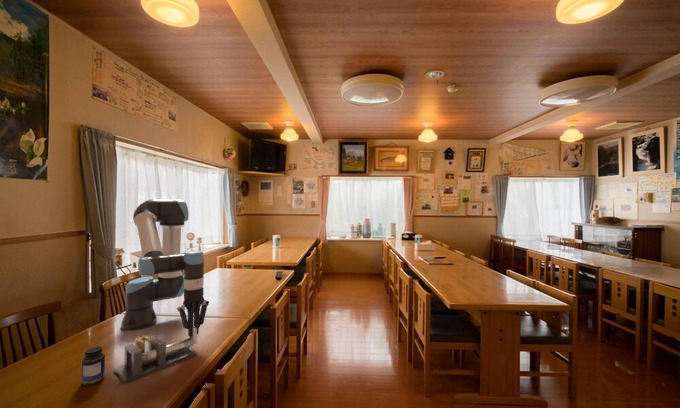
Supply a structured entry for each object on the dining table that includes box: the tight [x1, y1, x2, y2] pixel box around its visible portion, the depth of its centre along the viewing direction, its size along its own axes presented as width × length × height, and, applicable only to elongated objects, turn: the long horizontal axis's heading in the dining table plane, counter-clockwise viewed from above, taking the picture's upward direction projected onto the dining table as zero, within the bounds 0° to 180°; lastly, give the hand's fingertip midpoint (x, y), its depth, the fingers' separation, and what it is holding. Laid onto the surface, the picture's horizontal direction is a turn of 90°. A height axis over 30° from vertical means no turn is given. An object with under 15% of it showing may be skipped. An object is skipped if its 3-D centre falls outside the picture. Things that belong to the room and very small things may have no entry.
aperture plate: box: [134, 335, 151, 354], centre depth 112 cm, size 7×3×9 cm, turn 53°
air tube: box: [142, 336, 195, 365], centre depth 116 cm, size 20×4×4 cm, turn 143°
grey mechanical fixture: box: [113, 335, 196, 385], centre depth 114 cm, size 12×24×9 cm, turn 143°
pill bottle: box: [81, 345, 106, 386], centre depth 102 cm, size 6×6×11 cm
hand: (193, 343), depth 125 cm, fingers closed
